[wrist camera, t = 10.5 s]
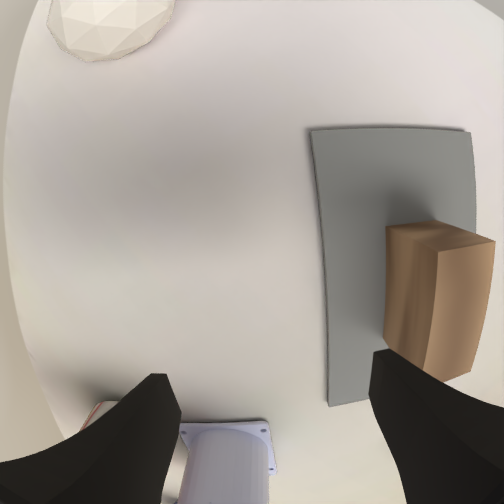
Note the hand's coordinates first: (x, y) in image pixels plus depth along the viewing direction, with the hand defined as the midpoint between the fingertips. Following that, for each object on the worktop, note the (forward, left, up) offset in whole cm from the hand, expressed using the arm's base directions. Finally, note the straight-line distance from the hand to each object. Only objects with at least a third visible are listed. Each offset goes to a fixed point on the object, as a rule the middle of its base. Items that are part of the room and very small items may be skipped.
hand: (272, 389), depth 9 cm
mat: (-1, -10, -9) cm, 14 cm away
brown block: (-1, -10, -9) cm, 13 cm away
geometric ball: (+19, +6, -10) cm, 22 cm away
